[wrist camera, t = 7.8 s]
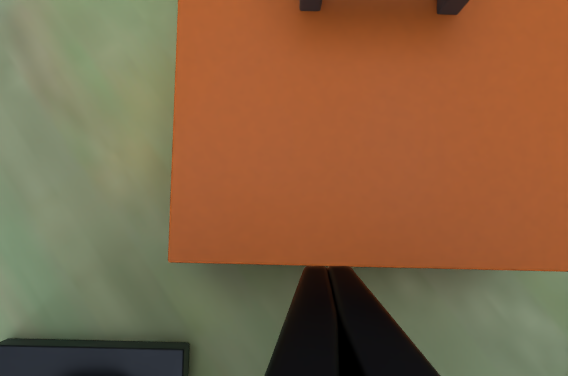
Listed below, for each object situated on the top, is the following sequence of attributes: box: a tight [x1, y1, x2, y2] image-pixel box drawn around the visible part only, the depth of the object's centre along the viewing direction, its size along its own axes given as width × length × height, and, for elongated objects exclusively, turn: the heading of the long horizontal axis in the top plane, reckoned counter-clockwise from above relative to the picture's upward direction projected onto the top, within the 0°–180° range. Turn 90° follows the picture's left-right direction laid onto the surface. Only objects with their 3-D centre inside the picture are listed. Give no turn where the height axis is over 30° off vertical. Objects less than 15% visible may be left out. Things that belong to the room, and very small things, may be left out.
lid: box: [168, 0, 568, 272], centre depth 14 cm, size 12×13×5 cm
